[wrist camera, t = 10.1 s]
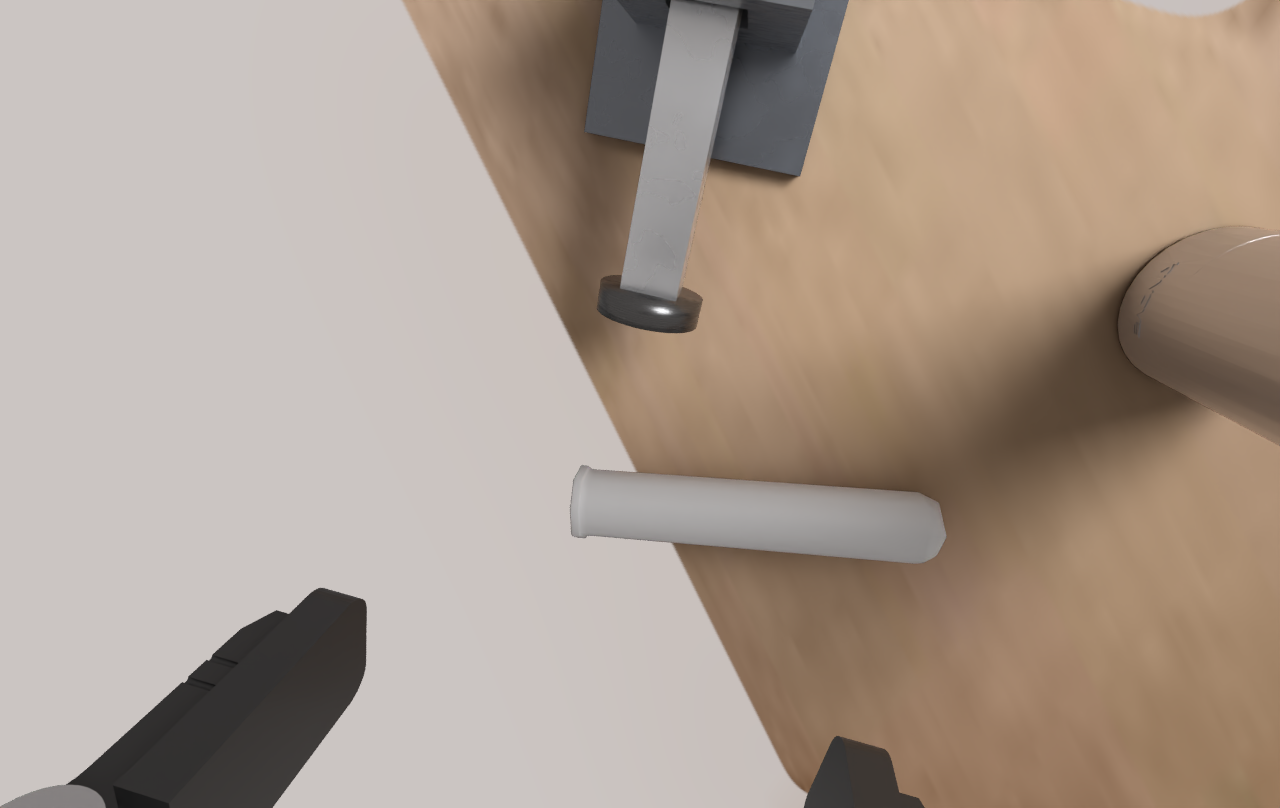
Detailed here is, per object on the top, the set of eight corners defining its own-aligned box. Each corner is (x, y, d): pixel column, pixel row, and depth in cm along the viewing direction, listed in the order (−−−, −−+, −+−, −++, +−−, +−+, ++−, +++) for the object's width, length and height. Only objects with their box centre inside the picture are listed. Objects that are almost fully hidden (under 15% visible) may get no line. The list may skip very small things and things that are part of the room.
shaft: (786, -51, 29) (794, -99, 23) (700, 315, 36) (691, 340, 31) (671, -72, 29) (654, -122, 24) (608, 294, 36) (585, 315, 31)
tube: (961, 498, 37) (571, 470, 41) (955, 583, 38) (568, 547, 42) (933, 483, 43) (589, 460, 46) (928, 557, 43) (586, 528, 47)
